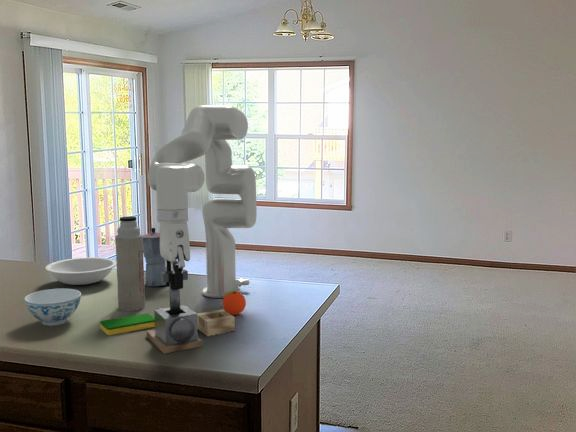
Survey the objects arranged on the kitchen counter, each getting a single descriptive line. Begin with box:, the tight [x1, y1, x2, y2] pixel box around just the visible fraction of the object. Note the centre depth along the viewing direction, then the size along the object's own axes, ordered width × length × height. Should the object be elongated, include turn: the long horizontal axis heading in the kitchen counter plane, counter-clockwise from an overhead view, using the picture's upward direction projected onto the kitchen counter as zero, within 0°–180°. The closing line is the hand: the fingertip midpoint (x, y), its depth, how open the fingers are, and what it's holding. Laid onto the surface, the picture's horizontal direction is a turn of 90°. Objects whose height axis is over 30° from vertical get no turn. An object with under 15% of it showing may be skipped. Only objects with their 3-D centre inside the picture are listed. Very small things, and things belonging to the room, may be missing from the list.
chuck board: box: [146, 329, 203, 354], centre depth 159 cm, size 10×14×2 cm
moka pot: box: [142, 227, 166, 288], centre depth 214 cm, size 10×15×20 cm, turn 95°
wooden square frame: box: [197, 308, 236, 337], centre depth 168 cm, size 8×8×4 cm
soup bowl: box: [44, 256, 117, 286], centre depth 217 cm, size 24×24×7 cm
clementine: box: [222, 291, 247, 316], centre depth 181 cm, size 8×7×7 cm
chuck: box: [153, 304, 199, 346], centre depth 160 cm, size 19×8×7 cm, turn 30°
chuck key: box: [160, 268, 189, 315], centre depth 155 cm, size 6×3×11 cm, turn 120°
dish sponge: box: [99, 312, 155, 336], centre depth 170 cm, size 7×14×2 cm, turn 123°
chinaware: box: [24, 288, 82, 327], centre depth 174 cm, size 15×15×8 cm
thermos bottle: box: [115, 216, 146, 312], centre depth 187 cm, size 8×8×28 cm
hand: (174, 286), depth 155 cm, fingers closed on chuck key, 2 cm apart
